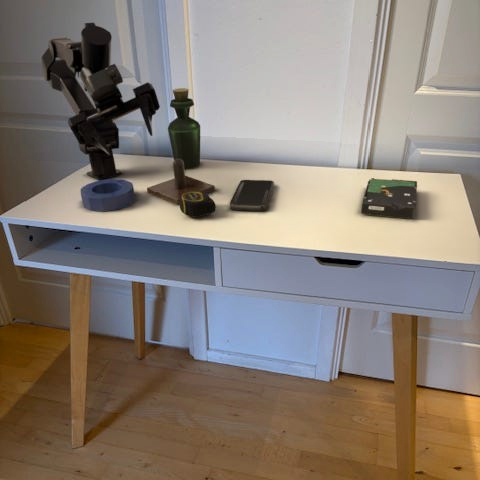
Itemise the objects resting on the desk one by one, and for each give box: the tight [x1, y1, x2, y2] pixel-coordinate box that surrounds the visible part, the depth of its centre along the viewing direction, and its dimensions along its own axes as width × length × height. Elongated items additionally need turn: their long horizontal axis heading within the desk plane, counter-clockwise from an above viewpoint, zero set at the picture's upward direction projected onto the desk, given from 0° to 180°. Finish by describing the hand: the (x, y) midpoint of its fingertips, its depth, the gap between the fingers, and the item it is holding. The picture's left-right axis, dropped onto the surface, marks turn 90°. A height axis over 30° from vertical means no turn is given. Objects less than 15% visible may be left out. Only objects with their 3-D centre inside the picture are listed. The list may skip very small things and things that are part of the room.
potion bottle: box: [167, 87, 201, 170], centre depth 122 cm, size 8×8×18 cm
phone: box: [229, 179, 275, 212], centre depth 108 cm, size 8×1×15 cm
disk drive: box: [360, 177, 418, 219], centre depth 102 cm, size 10×3×15 cm
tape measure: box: [178, 191, 217, 218], centre depth 101 cm, size 7×7×4 cm
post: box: [146, 159, 216, 206], centre depth 110 cm, size 11×11×8 cm
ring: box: [80, 178, 136, 212], centre depth 108 cm, size 11×11×3 cm
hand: (130, 144), depth 100 cm, fingers open, 9 cm apart
